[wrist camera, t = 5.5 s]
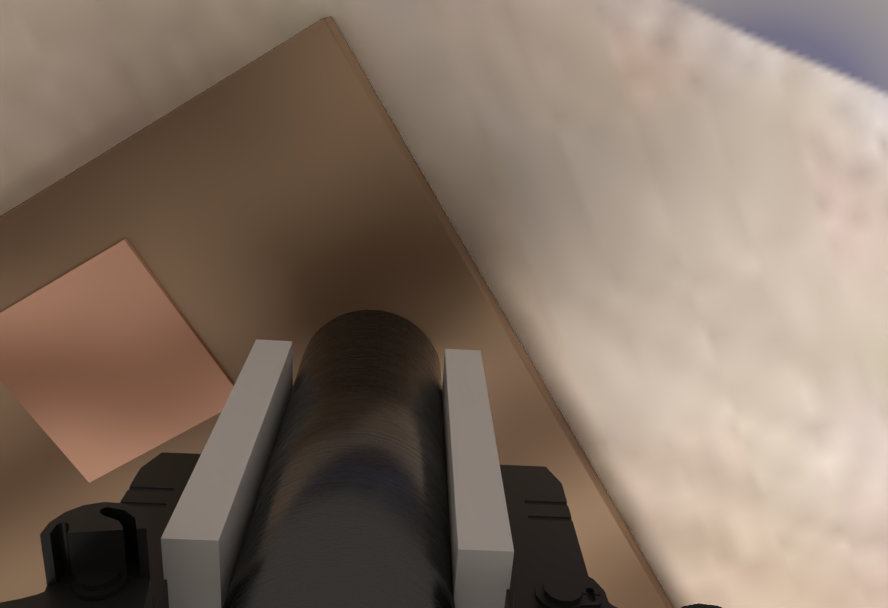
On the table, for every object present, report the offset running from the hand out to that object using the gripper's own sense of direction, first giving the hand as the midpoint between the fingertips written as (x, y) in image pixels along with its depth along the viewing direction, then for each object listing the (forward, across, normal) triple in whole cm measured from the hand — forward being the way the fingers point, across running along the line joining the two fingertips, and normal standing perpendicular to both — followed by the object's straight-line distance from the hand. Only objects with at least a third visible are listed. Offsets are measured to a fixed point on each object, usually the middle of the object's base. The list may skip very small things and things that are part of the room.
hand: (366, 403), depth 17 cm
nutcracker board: (+6, -3, -8) cm, 10 cm away
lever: (+3, 0, -9) cm, 10 cm away
